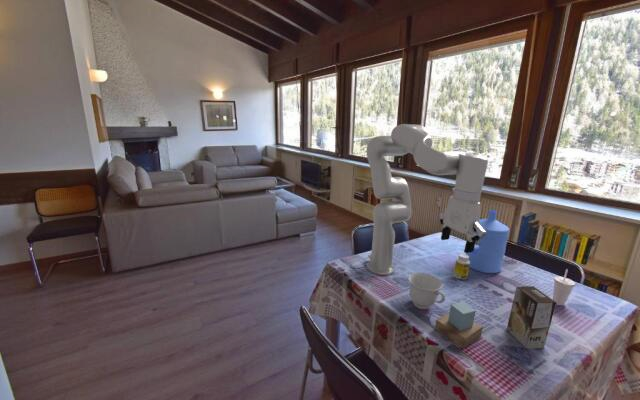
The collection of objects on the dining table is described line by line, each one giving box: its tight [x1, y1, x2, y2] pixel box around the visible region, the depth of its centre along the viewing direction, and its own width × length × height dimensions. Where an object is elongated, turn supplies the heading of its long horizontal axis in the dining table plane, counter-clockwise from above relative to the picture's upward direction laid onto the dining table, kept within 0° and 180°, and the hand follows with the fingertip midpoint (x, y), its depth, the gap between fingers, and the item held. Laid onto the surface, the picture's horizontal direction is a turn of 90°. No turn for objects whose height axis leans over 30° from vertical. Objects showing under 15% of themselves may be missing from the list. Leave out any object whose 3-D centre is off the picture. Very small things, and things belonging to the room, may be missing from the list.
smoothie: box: [552, 268, 576, 306], centre depth 112 cm, size 6×6×14 cm
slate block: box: [448, 301, 476, 331], centre depth 93 cm, size 5×5×6 cm
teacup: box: [407, 272, 446, 310], centre depth 106 cm, size 12×15×10 cm
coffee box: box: [506, 285, 557, 350], centre depth 91 cm, size 9×6×16 cm
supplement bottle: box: [453, 253, 470, 280], centre depth 129 cm, size 6×6×10 cm
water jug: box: [465, 209, 510, 274], centre depth 137 cm, size 16×16×28 cm
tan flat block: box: [434, 311, 484, 349], centre depth 94 cm, size 10×10×4 cm
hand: (456, 245), depth 95 cm, fingers open, 9 cm apart
